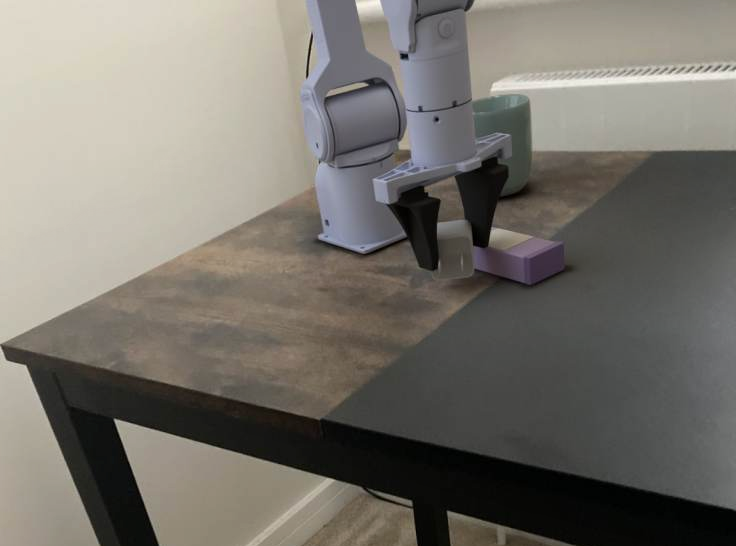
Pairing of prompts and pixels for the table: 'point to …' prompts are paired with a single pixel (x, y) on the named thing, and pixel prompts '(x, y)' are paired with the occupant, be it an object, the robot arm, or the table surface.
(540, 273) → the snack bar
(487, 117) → the cup
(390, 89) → the robot arm
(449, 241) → the usb wall charger
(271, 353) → the table surface
